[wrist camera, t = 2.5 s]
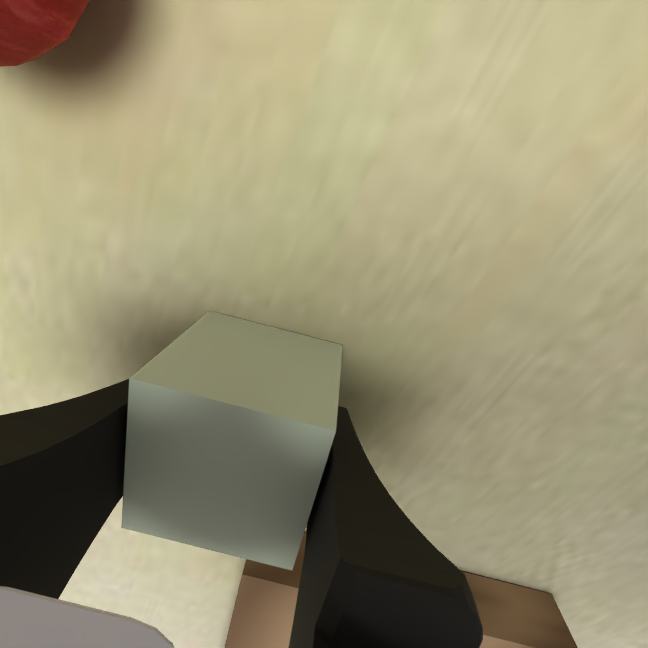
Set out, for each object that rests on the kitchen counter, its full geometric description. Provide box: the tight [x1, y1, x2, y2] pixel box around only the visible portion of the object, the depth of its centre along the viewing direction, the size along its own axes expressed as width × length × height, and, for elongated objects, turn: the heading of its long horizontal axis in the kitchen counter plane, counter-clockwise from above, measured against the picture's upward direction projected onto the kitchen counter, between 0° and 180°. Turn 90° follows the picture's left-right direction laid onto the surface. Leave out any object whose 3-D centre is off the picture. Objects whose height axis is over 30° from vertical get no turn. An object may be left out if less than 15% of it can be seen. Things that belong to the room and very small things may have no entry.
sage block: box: [122, 311, 343, 570], centre depth 12 cm, size 5×5×5 cm
